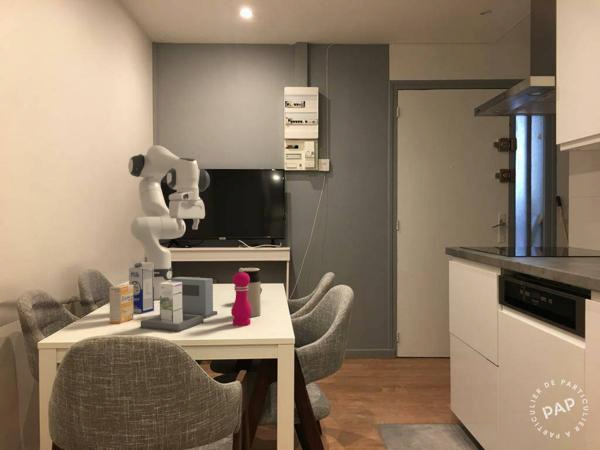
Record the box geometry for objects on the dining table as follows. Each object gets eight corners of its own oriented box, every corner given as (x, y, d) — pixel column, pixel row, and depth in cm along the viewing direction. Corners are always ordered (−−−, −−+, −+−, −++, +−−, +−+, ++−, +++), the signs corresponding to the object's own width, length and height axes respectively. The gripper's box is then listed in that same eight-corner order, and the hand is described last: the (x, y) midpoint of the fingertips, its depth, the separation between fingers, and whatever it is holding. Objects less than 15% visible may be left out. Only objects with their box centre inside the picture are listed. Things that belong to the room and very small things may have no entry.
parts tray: (140, 327, 150) (140, 320, 150) (167, 319, 163) (167, 312, 163) (179, 332, 144) (179, 324, 144) (203, 322, 157) (203, 315, 157)
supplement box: (121, 323, 156) (120, 287, 156) (109, 323, 157) (108, 287, 157) (134, 318, 164) (133, 284, 164) (122, 318, 165) (122, 283, 165)
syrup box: (183, 322, 155) (182, 281, 155) (173, 325, 149) (172, 283, 149) (169, 320, 157) (169, 280, 156) (159, 324, 151) (158, 282, 151)
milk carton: (154, 310, 179) (154, 262, 179) (142, 313, 173) (141, 263, 173) (141, 309, 182) (140, 261, 182) (128, 312, 176) (128, 262, 176)
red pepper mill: (232, 321, 158) (231, 266, 158) (252, 321, 159) (251, 266, 158) (230, 326, 151) (230, 269, 151) (251, 326, 151) (251, 268, 151)
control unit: (166, 315, 170) (166, 278, 170) (179, 311, 178) (179, 276, 178) (205, 318, 164) (205, 280, 164) (217, 314, 171) (217, 278, 171)
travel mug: (252, 318, 164) (251, 270, 163) (235, 316, 168) (235, 269, 168) (264, 314, 170) (264, 268, 170) (248, 312, 175) (248, 267, 174)
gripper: (196, 197, 192) (196, 229, 192) (165, 195, 173) (166, 230, 173) (208, 197, 190) (208, 229, 190) (179, 195, 171) (179, 230, 171)
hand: (188, 229), depth 182 cm, fingers open, 8 cm apart
